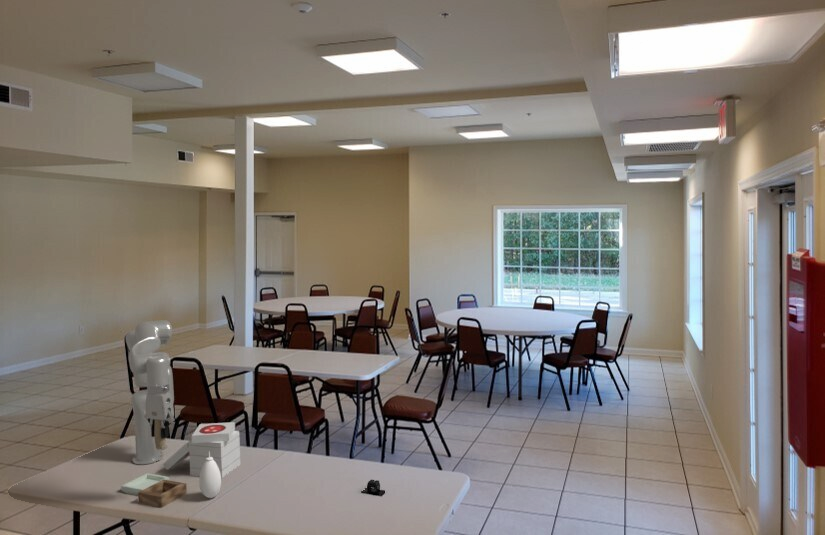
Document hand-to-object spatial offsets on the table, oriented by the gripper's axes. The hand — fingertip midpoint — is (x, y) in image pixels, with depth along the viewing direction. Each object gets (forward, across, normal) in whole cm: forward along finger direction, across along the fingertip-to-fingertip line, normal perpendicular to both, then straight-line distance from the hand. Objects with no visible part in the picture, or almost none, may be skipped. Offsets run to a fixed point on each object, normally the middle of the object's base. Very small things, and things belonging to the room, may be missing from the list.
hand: (160, 436), depth 225 cm
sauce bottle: (+24, -18, -7) cm, 31 cm away
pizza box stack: (+25, +4, -28) cm, 37 cm away
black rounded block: (+24, -74, -32) cm, 84 cm away
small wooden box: (+24, 0, 0) cm, 24 cm away
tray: (+24, +14, -5) cm, 28 cm away
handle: (+5, 0, 0) cm, 5 cm away
